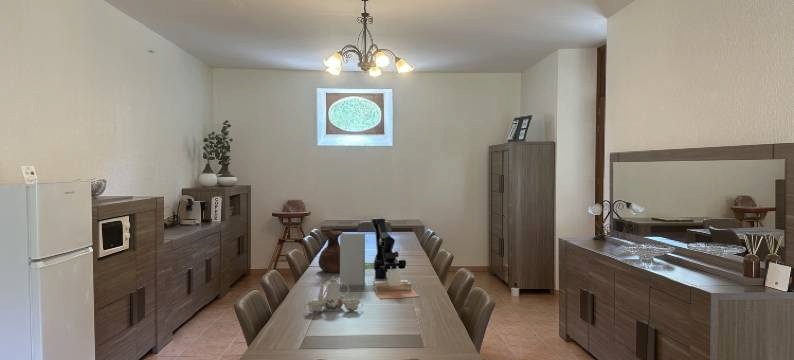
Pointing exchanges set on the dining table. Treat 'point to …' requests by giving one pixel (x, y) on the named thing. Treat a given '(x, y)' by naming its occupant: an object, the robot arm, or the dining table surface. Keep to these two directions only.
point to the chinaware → (332, 299)
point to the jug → (331, 252)
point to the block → (393, 277)
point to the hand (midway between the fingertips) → (392, 277)
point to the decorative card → (370, 265)
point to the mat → (396, 294)
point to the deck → (384, 286)
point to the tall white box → (352, 259)
